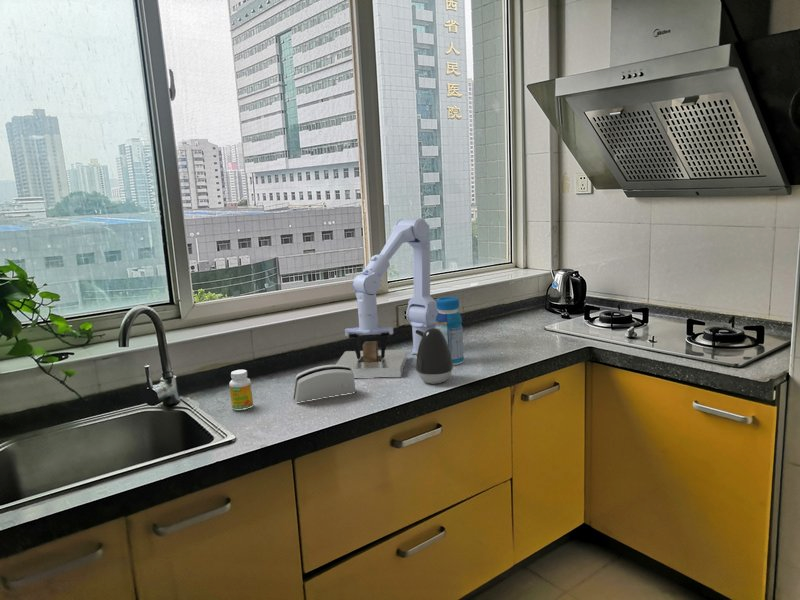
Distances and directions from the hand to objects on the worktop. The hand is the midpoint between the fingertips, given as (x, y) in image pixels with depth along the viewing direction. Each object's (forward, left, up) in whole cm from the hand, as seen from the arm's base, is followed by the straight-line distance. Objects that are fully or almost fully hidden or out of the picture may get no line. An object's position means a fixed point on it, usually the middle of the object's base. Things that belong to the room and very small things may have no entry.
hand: (371, 357), depth 183 cm
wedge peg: (0, 0, -3) cm, 3 cm away
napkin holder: (+9, +25, -4) cm, 27 cm away
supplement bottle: (+29, +32, -4) cm, 43 cm away
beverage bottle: (-24, -4, -4) cm, 25 cm away
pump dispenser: (-20, +14, -4) cm, 25 cm away
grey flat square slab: (0, 0, -3) cm, 3 cm away
